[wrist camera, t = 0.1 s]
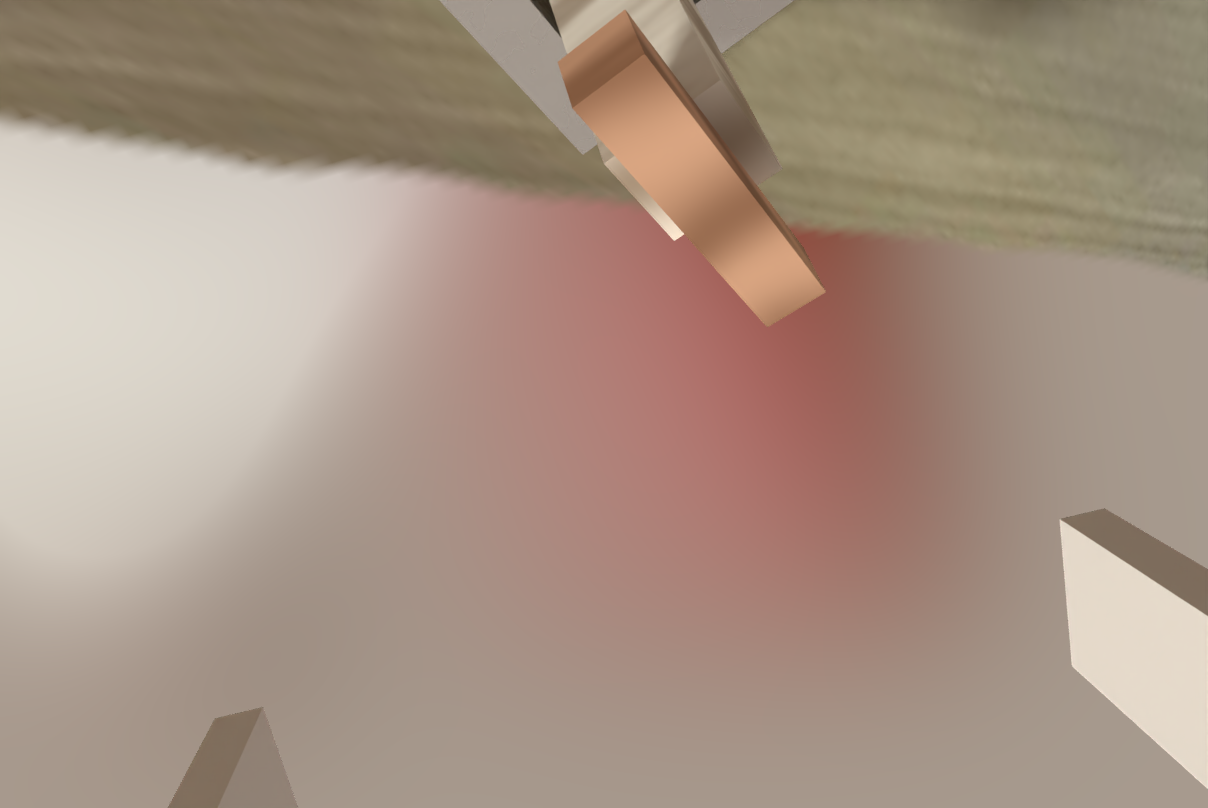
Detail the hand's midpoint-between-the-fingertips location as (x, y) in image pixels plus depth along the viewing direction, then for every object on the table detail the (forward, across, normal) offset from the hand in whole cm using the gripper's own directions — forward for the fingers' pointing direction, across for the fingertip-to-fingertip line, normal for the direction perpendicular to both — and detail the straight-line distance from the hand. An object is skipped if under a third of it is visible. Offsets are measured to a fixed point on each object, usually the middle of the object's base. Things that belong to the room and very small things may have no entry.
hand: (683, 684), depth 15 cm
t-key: (+32, +5, +17) cm, 36 cm away
